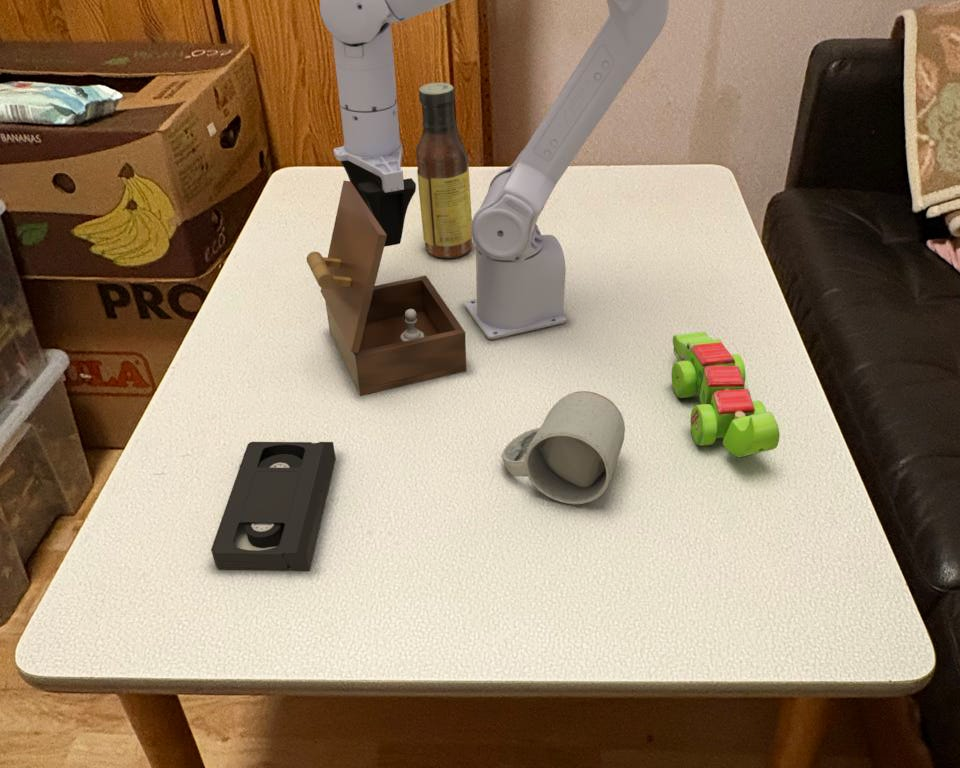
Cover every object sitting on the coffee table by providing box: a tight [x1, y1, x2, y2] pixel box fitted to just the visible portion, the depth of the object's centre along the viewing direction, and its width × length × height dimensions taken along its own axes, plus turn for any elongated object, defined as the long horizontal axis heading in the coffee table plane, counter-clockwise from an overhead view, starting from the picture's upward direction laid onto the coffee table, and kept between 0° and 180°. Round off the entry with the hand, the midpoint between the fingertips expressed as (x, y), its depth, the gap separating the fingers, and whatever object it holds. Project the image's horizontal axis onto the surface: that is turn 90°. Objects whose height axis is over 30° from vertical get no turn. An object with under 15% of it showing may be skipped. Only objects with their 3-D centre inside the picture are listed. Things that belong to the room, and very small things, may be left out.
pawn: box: [400, 309, 424, 342], centre depth 97 cm, size 3×3×4 cm
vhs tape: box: [210, 441, 337, 572], centre depth 80 cm, size 14×8×2 cm, turn 178°
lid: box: [306, 180, 387, 353], centre depth 90 cm, size 12×13×4 cm
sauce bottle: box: [415, 82, 473, 259], centre depth 109 cm, size 6×6×20 cm
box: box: [324, 275, 467, 396], centre depth 97 cm, size 12×13×5 cm
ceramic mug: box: [501, 390, 626, 505], centre depth 81 cm, size 11×8×8 cm
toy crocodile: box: [671, 331, 781, 458], centre depth 88 cm, size 20×7×6 cm, turn 5°
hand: (380, 228), depth 100 cm, fingers open, 7 cm apart
